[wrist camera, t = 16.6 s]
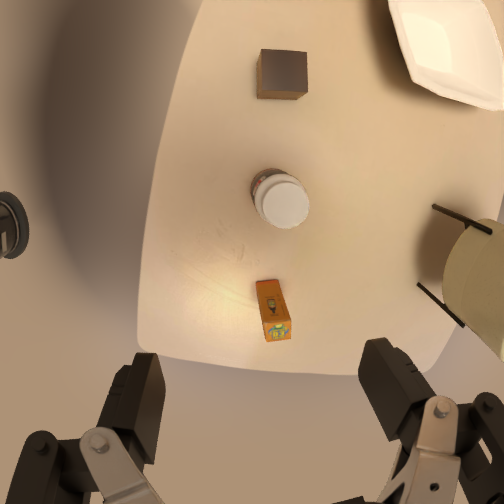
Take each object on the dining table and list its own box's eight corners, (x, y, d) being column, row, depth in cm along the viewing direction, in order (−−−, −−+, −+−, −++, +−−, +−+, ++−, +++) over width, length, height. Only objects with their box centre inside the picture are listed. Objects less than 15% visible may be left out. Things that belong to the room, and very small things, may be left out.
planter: (462, 283, 45) (539, 348, 24) (401, 289, 44) (483, 377, 23) (479, 207, 40) (574, 252, 18) (417, 200, 39) (533, 254, 17)
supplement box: (257, 301, 43) (264, 343, 33) (255, 281, 42) (262, 320, 32) (279, 299, 43) (291, 340, 34) (278, 278, 42) (291, 317, 32)
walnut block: (257, 98, 33) (261, 89, 27) (256, 63, 31) (261, 48, 25) (296, 100, 33) (308, 92, 27) (295, 65, 31) (306, 51, 26)
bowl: (478, 117, 34) (512, 119, 26) (371, 96, 33) (403, 88, 25) (459, 10, 26) (487, 0, 18) (350, -27, 25) (372, -52, 17)
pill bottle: (242, 200, 37) (246, 219, 28) (262, 160, 36) (272, 166, 26) (281, 218, 39) (297, 242, 29) (301, 180, 37) (324, 193, 28)
